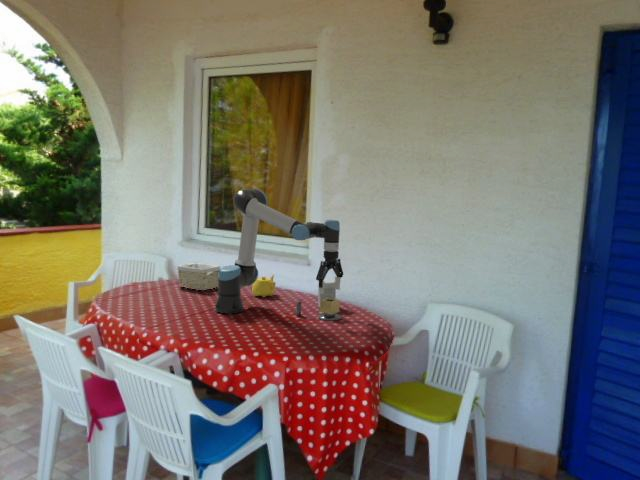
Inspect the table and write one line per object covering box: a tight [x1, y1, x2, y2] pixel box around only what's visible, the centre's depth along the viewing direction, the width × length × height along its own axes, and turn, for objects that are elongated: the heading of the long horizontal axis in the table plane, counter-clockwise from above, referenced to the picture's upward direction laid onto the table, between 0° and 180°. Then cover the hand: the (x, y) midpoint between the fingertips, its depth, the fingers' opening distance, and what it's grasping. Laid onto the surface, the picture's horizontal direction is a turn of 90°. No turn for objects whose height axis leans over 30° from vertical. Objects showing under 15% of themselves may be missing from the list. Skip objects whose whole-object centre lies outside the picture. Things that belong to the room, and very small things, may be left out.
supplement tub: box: [317, 279, 337, 309], centre depth 272 cm, size 10×10×15 cm
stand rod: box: [296, 300, 302, 317], centre depth 254 cm, size 2×2×8 cm
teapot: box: [251, 274, 277, 298], centre depth 296 cm, size 14×14×12 cm
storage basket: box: [177, 262, 221, 290], centre depth 313 cm, size 24×16×15 cm
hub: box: [317, 313, 342, 322], centre depth 252 cm, size 12×12×7 cm
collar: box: [319, 298, 341, 314], centre depth 252 cm, size 7×7×6 cm
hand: (329, 291), depth 251 cm, fingers open, 13 cm apart
